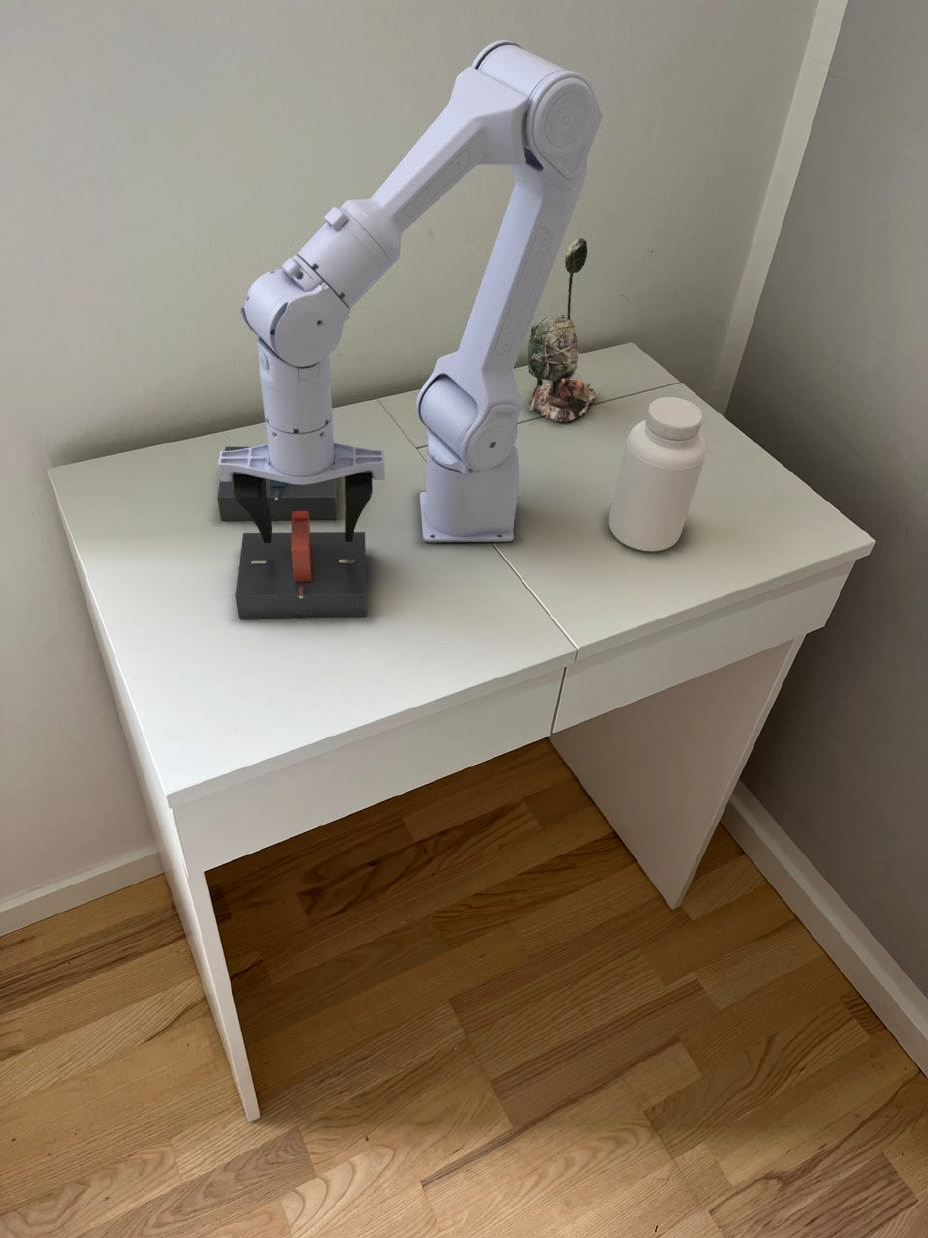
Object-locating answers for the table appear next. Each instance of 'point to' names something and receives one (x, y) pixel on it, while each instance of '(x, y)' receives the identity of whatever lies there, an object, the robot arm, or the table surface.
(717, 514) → the table surface
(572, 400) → the plant with pod
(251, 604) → the hot tap panel
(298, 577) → the block
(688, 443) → the pill bottle
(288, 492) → the panel
